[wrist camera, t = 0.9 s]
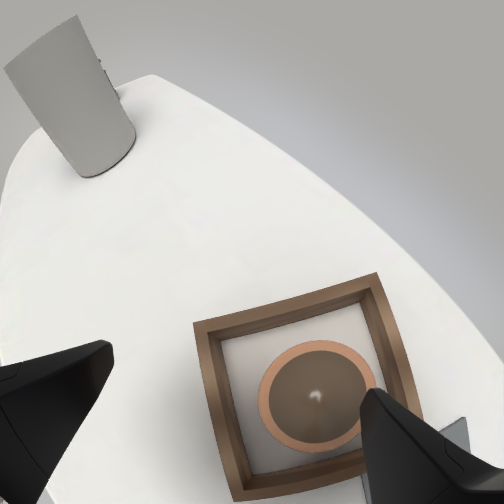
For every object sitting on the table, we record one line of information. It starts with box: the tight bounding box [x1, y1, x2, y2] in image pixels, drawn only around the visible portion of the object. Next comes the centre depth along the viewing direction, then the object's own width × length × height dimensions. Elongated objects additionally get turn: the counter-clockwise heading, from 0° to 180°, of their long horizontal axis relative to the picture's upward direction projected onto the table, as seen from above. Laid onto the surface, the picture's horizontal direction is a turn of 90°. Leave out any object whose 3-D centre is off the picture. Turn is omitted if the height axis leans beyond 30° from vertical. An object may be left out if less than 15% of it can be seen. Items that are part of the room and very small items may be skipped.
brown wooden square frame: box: [193, 272, 424, 502], centre depth 19 cm, size 15×15×4 cm
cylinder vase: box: [3, 15, 135, 177], centre depth 30 cm, size 12×12×25 cm
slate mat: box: [361, 417, 471, 504], centre depth 13 cm, size 11×11×1 cm
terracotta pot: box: [258, 340, 376, 452], centre depth 17 cm, size 7×7×8 cm
